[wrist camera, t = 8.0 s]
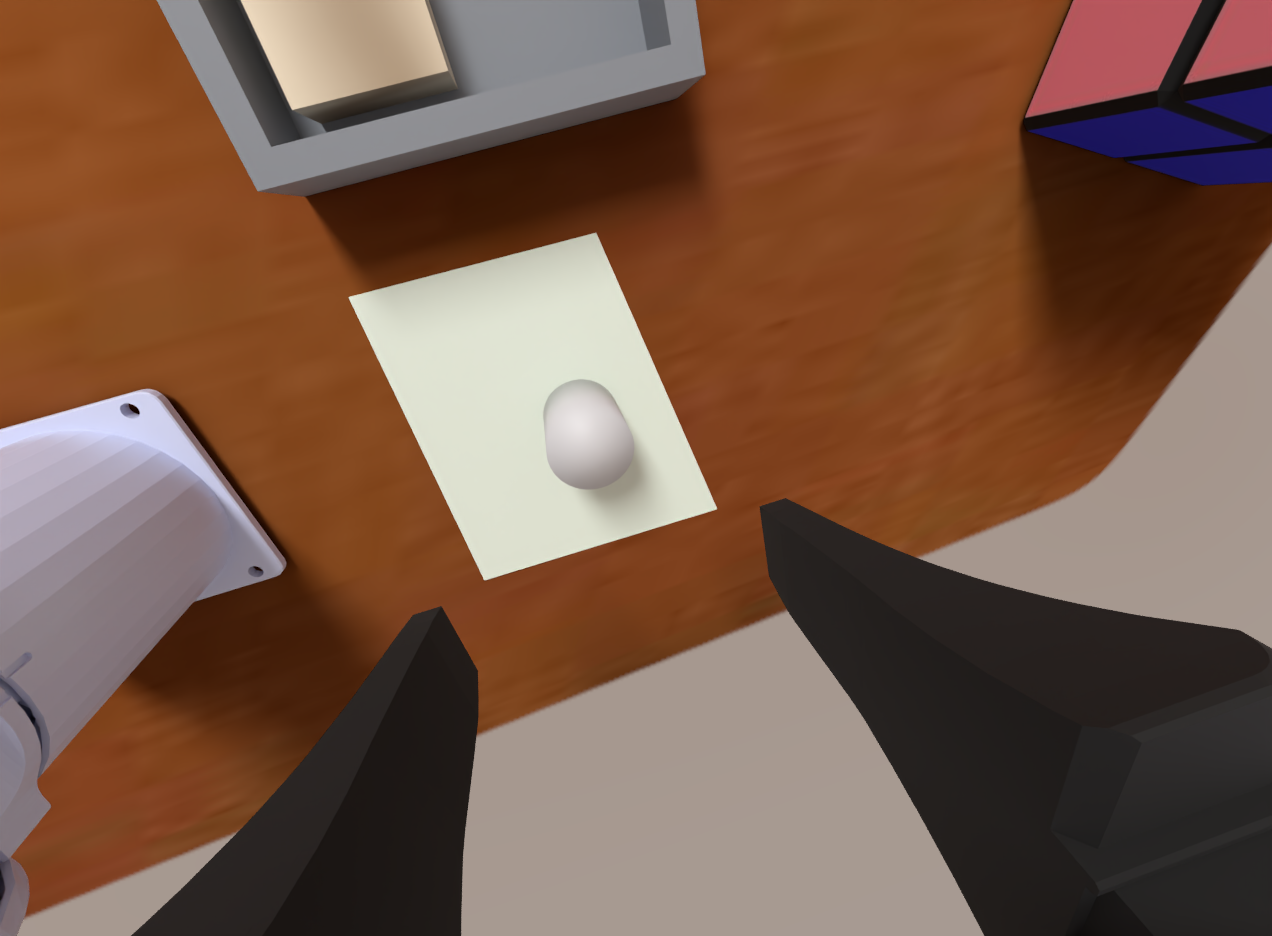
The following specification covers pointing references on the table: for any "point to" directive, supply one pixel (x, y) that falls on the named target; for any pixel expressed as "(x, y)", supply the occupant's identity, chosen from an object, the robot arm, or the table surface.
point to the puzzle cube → (1164, 86)
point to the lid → (535, 404)
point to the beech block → (351, 53)
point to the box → (455, 120)
